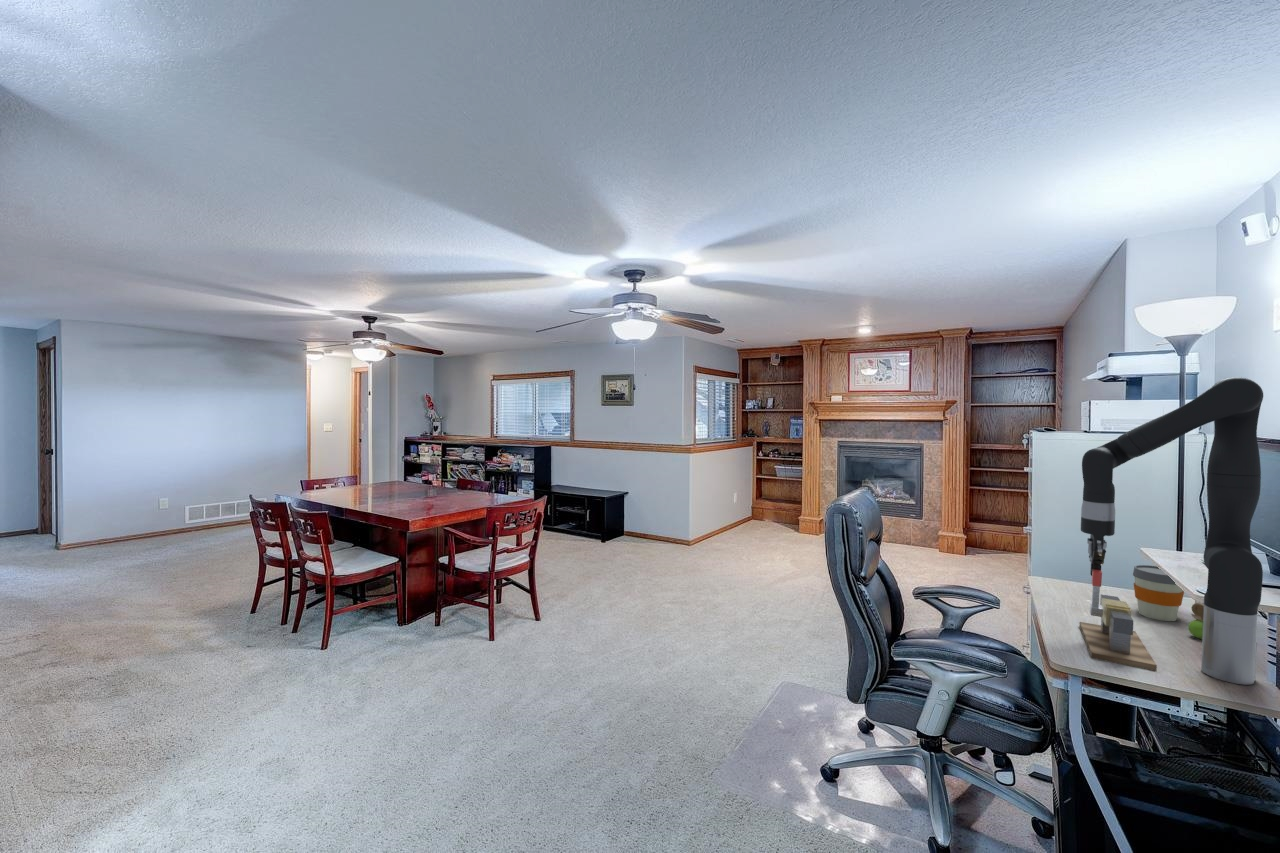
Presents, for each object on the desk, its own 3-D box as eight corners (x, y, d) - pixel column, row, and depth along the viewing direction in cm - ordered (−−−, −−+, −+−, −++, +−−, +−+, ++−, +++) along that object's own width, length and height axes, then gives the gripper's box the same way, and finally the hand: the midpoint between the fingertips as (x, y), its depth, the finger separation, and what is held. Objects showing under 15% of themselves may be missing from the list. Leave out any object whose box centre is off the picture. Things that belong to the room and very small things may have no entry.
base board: (1079, 626, 171) (1079, 621, 171) (1135, 636, 164) (1135, 631, 164) (1091, 658, 149) (1091, 652, 149) (1156, 670, 142) (1156, 665, 142)
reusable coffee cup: (1187, 626, 172) (1189, 578, 171) (1133, 616, 179) (1135, 571, 179) (1180, 614, 182) (1182, 569, 181) (1129, 606, 189) (1131, 562, 189)
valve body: (1096, 626, 167) (1098, 590, 167) (1119, 630, 164) (1120, 593, 164) (1109, 653, 149) (1110, 613, 148) (1135, 658, 146) (1136, 617, 145)
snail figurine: (1210, 644, 158) (1212, 603, 158) (1183, 635, 164) (1185, 596, 164) (1223, 642, 160) (1225, 601, 159) (1195, 633, 166) (1197, 594, 166)
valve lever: (1089, 611, 160) (1092, 568, 158) (1101, 613, 159) (1104, 570, 157) (1090, 615, 158) (1093, 572, 156) (1102, 617, 157) (1105, 573, 155)
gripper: (1119, 522, 151) (1116, 585, 152) (1110, 514, 162) (1108, 572, 163) (1084, 519, 155) (1081, 580, 156) (1078, 511, 166) (1076, 568, 167)
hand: (1095, 576), depth 159 cm, fingers closed
